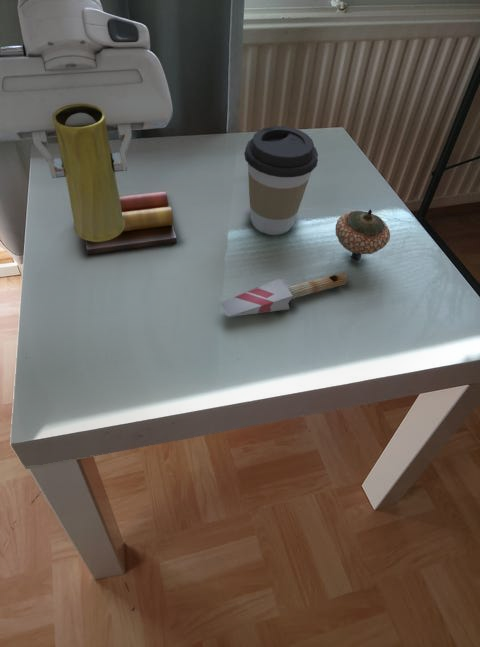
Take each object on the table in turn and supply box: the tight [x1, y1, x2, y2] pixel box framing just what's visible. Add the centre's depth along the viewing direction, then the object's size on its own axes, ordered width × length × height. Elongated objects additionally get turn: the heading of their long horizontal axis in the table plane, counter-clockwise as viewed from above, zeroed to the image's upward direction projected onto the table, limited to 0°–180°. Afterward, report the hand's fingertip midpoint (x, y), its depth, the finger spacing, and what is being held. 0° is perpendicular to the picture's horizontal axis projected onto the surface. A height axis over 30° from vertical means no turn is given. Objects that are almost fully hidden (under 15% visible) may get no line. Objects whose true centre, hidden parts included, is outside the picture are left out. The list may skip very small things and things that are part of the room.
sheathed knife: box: [219, 272, 348, 318], centre depth 73 cm, size 4×3×20 cm
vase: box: [53, 104, 125, 242], centre depth 57 cm, size 6×6×14 cm
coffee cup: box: [243, 125, 319, 236], centre depth 81 cm, size 11×11×15 cm
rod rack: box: [84, 190, 178, 255], centre depth 82 cm, size 14×12×4 cm
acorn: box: [335, 208, 391, 262], centre depth 78 cm, size 8×8×10 cm
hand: (90, 173), depth 56 cm, fingers closed on vase, 5 cm apart
